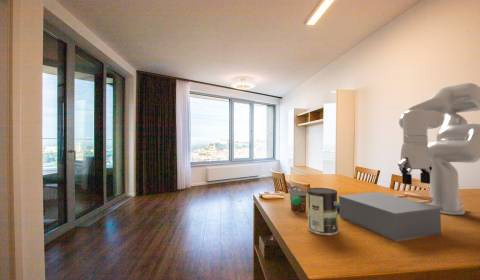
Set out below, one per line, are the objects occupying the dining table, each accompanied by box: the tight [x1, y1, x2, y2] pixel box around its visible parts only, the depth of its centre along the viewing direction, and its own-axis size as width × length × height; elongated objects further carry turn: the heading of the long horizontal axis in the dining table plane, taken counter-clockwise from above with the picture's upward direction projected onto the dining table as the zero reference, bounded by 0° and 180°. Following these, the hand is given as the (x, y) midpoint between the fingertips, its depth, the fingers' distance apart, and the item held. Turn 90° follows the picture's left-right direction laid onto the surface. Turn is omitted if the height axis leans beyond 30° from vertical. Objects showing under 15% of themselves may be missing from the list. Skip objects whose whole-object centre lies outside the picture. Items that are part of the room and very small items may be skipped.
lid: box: [338, 191, 443, 216], centre depth 81 cm, size 28×25×2 cm
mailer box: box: [338, 197, 442, 243], centre depth 80 cm, size 20×24×8 cm
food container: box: [288, 185, 307, 213], centre depth 100 cm, size 12×6×10 cm, turn 5°
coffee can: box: [306, 187, 339, 236], centre depth 77 cm, size 10×10×14 cm
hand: (416, 183), depth 85 cm, fingers open, 9 cm apart
